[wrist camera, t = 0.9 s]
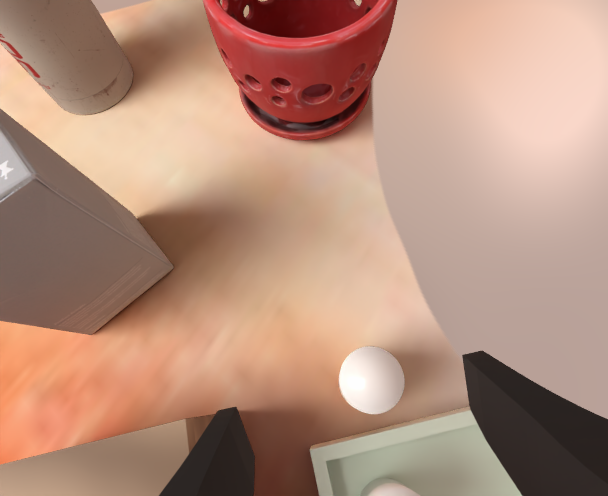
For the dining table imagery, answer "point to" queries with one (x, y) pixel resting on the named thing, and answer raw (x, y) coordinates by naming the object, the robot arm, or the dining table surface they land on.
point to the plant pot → (302, 59)
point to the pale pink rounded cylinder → (386, 488)
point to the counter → (107, 464)
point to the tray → (415, 459)
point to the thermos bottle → (67, 52)
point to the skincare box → (65, 241)
